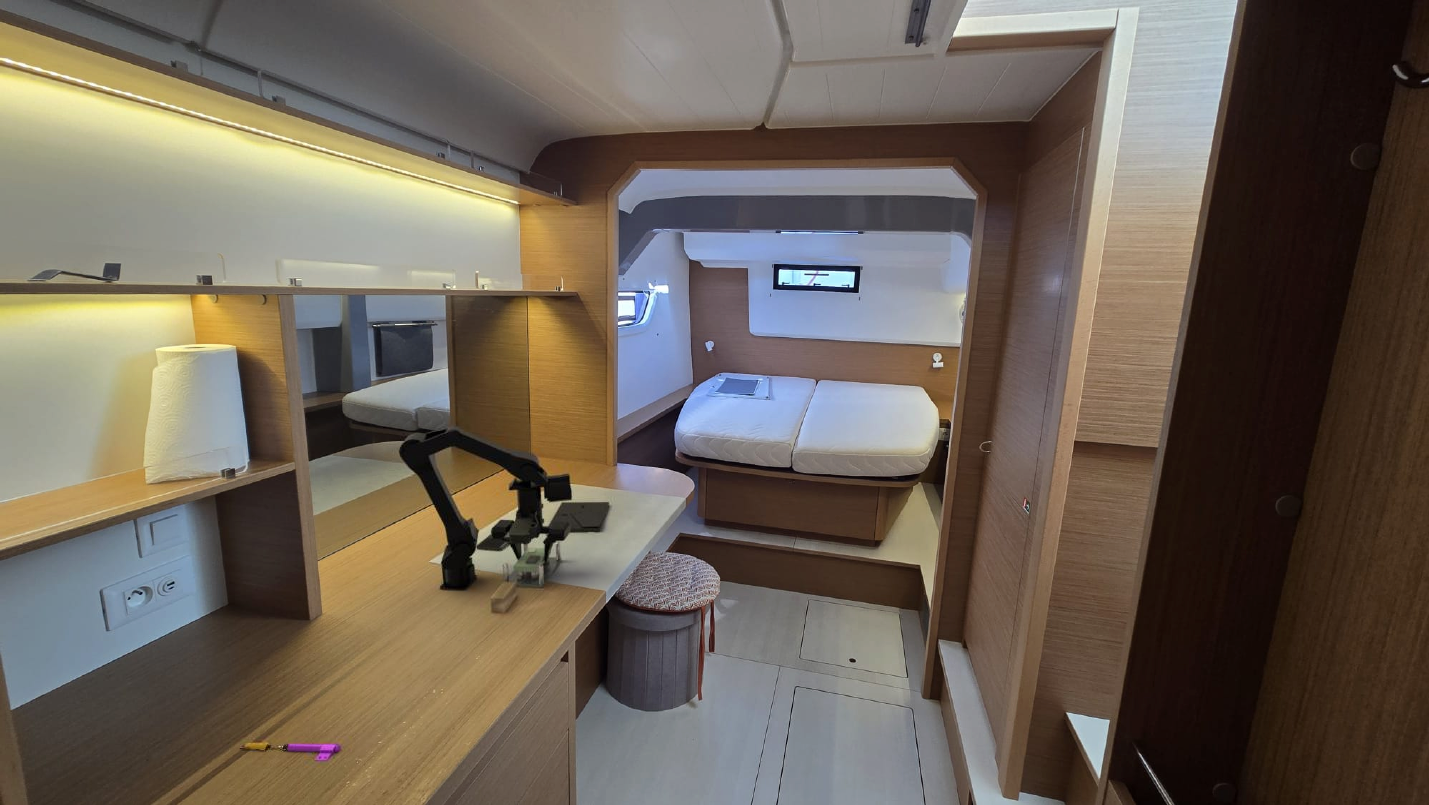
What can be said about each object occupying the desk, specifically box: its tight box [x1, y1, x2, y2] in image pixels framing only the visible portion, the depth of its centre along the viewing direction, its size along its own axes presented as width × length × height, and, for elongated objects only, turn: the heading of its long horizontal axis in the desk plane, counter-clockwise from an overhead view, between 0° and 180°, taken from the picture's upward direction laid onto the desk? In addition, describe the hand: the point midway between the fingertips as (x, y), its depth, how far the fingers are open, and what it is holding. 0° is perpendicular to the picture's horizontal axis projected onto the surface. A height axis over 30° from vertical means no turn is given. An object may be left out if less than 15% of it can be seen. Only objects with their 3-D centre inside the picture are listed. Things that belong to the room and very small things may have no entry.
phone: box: [476, 533, 510, 552], centre depth 162 cm, size 8×1×15 cm
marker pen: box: [245, 742, 342, 762], centre depth 88 cm, size 3×1×16 cm
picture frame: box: [547, 501, 610, 534], centre depth 177 cm, size 16×3×21 cm
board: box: [512, 547, 552, 572], centre depth 142 cm, size 6×10×2 cm, turn 178°
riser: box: [490, 581, 517, 613], centre depth 129 cm, size 3×7×4 cm, turn 177°
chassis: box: [502, 541, 562, 589], centre depth 143 cm, size 10×14×6 cm
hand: (532, 561), depth 142 cm, fingers open, 7 cm apart
